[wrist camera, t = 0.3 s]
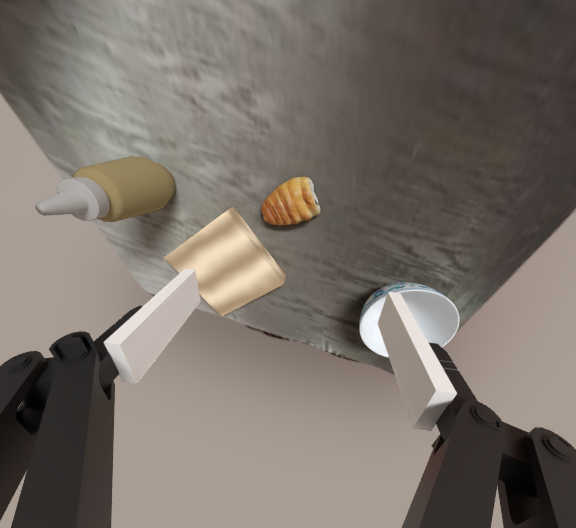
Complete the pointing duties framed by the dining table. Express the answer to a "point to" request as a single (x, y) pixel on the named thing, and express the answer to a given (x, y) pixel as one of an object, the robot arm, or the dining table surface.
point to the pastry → (291, 203)
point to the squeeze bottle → (112, 191)
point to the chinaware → (424, 307)
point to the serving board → (228, 263)
